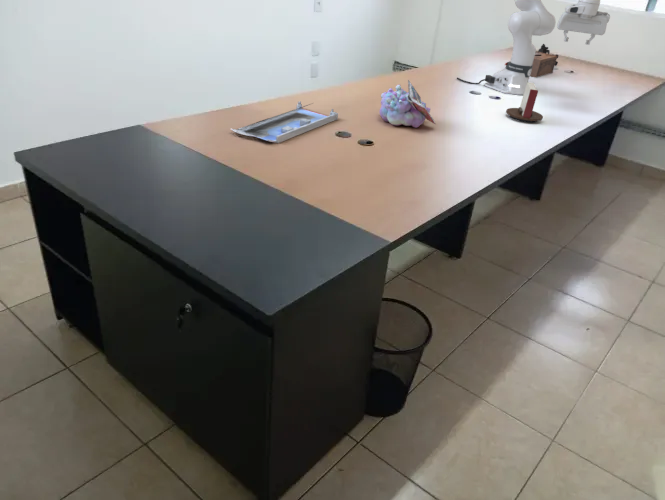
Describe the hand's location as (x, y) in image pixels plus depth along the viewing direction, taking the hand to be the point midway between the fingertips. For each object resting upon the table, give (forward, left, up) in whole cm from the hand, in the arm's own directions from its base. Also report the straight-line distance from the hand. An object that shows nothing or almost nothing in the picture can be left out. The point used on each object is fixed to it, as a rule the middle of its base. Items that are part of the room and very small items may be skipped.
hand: (576, 42), depth 248 cm
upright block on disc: (-2, -28, -30) cm, 41 cm away
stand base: (-2, -28, -31) cm, 42 cm away
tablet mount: (-66, +116, -31) cm, 137 cm away
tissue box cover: (-49, +73, -31) cm, 93 cm away
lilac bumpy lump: (-25, -85, -31) cm, 94 cm away
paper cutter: (-45, -131, -31) cm, 142 cm away
